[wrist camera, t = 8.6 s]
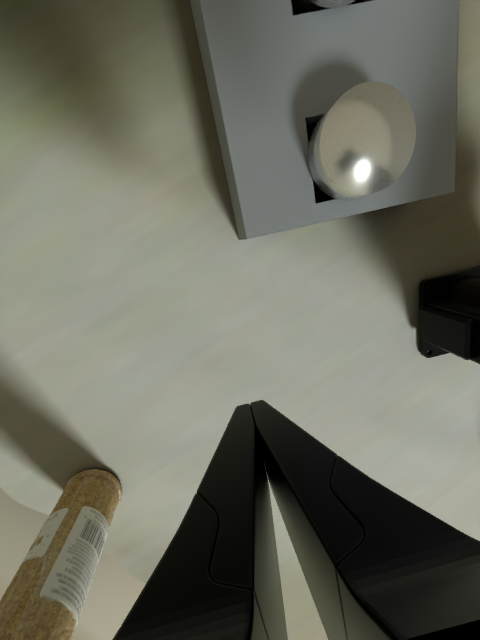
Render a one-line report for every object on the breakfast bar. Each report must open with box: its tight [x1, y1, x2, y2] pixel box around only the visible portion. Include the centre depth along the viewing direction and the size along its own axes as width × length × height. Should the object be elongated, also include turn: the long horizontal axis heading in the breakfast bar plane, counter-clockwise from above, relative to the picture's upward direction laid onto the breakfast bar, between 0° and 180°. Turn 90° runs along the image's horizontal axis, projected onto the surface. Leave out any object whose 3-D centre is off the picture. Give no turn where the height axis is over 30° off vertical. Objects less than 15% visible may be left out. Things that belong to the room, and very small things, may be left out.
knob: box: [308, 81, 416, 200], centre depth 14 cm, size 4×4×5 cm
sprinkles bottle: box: [0, 469, 122, 640], centre depth 16 cm, size 5×5×13 cm
